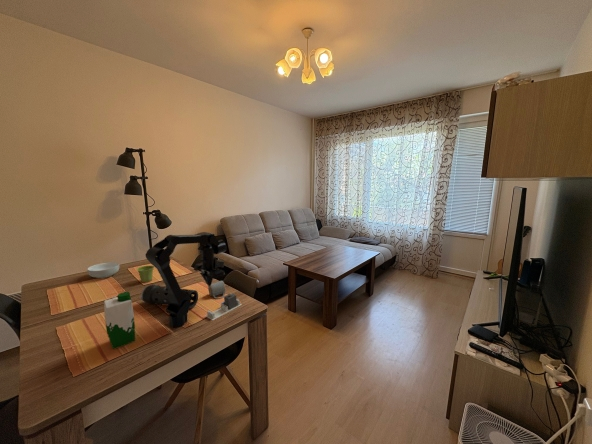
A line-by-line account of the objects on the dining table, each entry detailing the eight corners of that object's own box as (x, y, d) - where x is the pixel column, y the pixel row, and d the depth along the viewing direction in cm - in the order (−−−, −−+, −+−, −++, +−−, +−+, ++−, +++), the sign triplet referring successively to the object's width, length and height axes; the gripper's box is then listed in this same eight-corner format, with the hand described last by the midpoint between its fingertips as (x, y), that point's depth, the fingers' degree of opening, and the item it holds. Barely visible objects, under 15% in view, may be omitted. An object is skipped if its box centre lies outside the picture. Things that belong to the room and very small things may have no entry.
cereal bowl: (124, 274, 160) (123, 265, 159) (94, 283, 147) (92, 272, 145) (114, 269, 169) (112, 260, 168) (84, 277, 155) (83, 267, 154)
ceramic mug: (207, 294, 136) (207, 281, 134) (221, 290, 140) (221, 278, 139) (213, 302, 127) (212, 289, 126) (227, 298, 132) (227, 285, 130)
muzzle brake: (187, 314, 115) (186, 295, 113) (140, 307, 121) (138, 288, 119) (199, 304, 124) (198, 286, 122) (154, 298, 130) (152, 281, 128)
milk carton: (138, 341, 96) (132, 296, 92) (110, 352, 89) (103, 304, 86) (133, 331, 102) (128, 288, 98) (107, 340, 95) (101, 295, 92)
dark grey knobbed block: (229, 309, 118) (229, 296, 117) (224, 307, 120) (224, 294, 119) (236, 306, 122) (236, 293, 120) (231, 303, 124) (231, 291, 123)
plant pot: (139, 279, 154) (138, 266, 153) (156, 276, 158) (154, 264, 156) (136, 284, 146) (135, 271, 144) (154, 282, 150) (153, 269, 148)
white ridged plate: (212, 321, 109) (212, 315, 109) (204, 316, 113) (204, 310, 112) (242, 305, 124) (241, 300, 123) (233, 301, 127) (233, 296, 127)
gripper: (232, 256, 118) (233, 285, 121) (211, 249, 129) (212, 276, 132) (213, 262, 109) (214, 293, 112) (192, 254, 120) (194, 282, 123)
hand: (209, 285), depth 120 cm, fingers closed
